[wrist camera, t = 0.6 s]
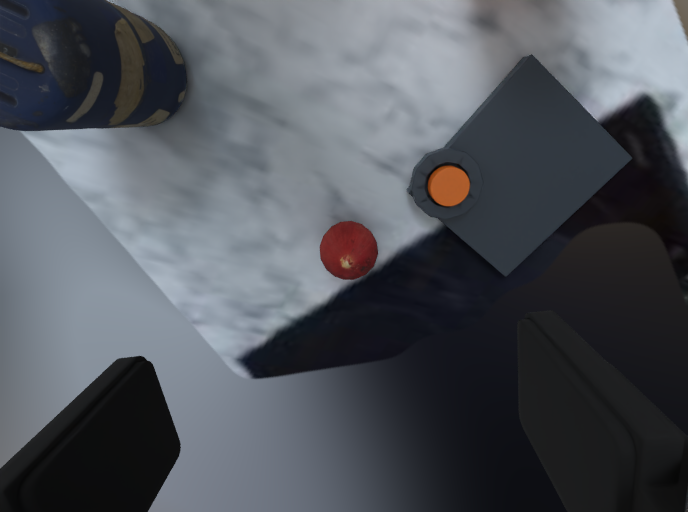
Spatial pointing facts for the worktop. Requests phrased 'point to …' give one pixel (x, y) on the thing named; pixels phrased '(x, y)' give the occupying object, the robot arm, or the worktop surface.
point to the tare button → (448, 185)
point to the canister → (84, 67)
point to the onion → (348, 250)
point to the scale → (521, 166)
